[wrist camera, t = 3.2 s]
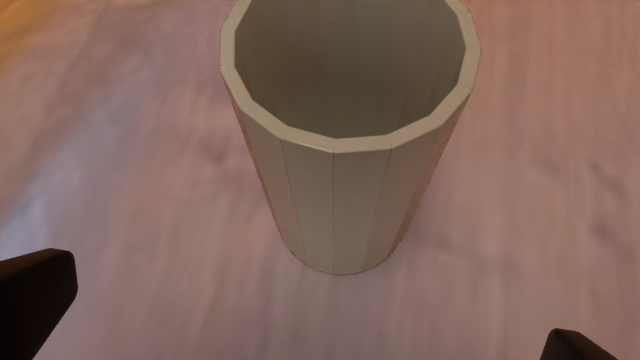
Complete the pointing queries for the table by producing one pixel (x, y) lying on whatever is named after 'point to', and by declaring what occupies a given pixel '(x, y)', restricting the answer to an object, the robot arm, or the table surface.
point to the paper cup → (347, 114)
